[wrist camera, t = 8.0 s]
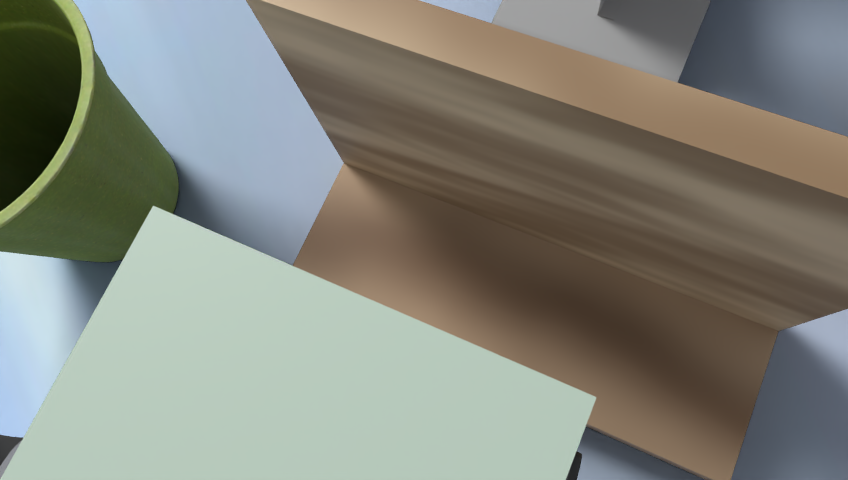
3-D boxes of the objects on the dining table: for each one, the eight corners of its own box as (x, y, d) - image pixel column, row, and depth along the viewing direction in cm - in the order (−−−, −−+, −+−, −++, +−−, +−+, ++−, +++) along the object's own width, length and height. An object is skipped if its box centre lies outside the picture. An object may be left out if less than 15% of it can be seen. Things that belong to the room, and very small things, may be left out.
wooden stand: (708, 480, 27) (941, 546, 13) (298, 298, 31) (127, 193, 17) (765, 308, 29) (1029, 194, 14) (367, 156, 33) (266, -49, 19)
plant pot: (-23, 180, 35) (-252, 74, 25) (160, 60, 36) (15, -94, 25) (64, 358, 32) (-158, 326, 21) (264, 222, 33) (148, 124, 22)
